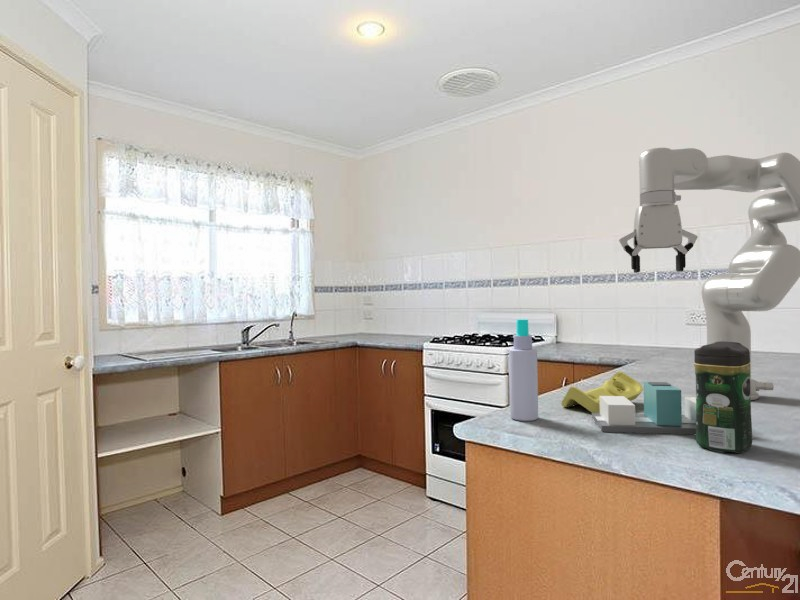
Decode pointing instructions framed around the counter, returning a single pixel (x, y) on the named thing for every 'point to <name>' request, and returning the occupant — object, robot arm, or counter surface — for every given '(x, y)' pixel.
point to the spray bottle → (523, 375)
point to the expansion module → (662, 403)
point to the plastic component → (604, 392)
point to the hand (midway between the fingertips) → (658, 271)
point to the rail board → (639, 417)
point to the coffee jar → (723, 397)
